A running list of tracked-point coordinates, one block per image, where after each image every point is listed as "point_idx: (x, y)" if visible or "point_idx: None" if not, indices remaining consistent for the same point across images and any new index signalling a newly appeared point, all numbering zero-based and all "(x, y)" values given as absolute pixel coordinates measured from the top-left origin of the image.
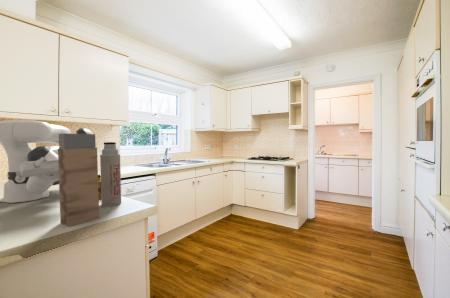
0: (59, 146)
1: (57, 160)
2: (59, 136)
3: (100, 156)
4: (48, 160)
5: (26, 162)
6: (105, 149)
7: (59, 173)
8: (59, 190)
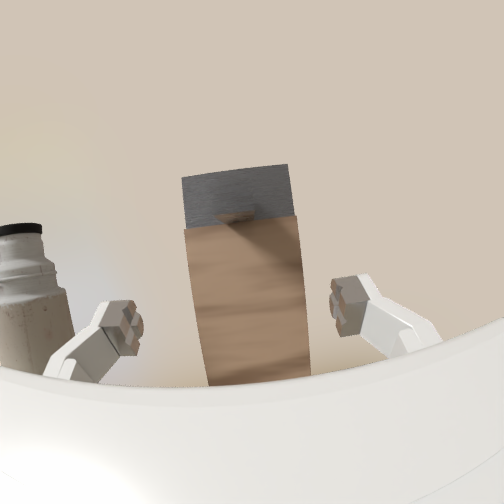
0: (293, 209)
1: (181, 392)
2: (288, 174)
3: (46, 303)
4: (298, 379)
5: (492, 324)
6: (47, 260)
7: (305, 309)
8: (310, 368)
